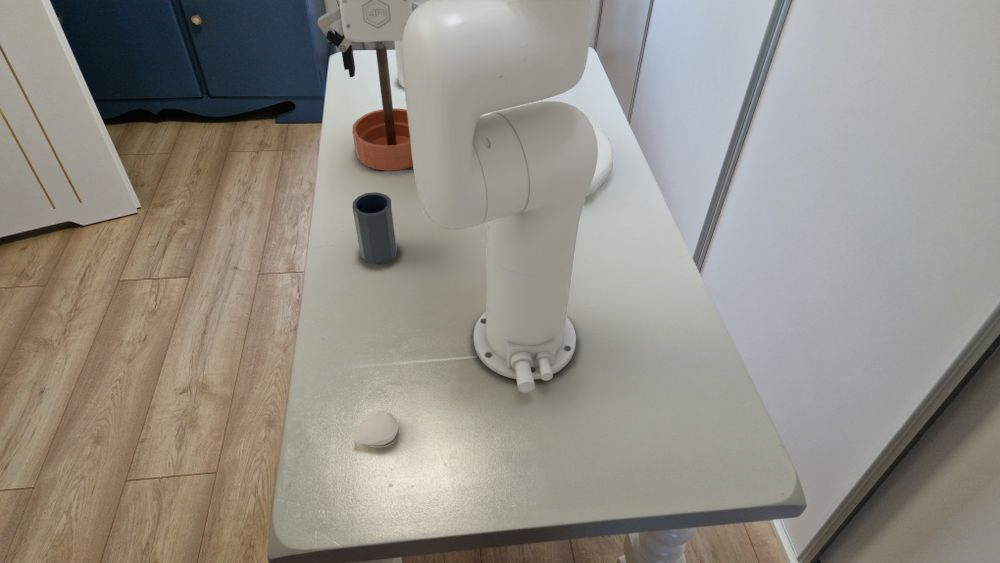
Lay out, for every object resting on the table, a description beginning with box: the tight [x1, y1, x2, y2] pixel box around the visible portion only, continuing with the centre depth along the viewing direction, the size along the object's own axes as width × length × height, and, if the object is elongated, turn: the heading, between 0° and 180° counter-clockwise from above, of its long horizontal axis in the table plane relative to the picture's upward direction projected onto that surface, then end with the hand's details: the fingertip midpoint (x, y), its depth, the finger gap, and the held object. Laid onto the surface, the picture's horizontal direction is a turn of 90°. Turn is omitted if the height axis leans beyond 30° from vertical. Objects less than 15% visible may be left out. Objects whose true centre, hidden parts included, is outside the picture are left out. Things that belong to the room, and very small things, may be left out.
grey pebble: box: [352, 409, 400, 448], centre depth 70 cm, size 4×5×2 cm
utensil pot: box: [351, 191, 398, 266], centre depth 89 cm, size 5×5×9 cm
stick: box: [375, 43, 397, 145], centre depth 105 cm, size 2×2×18 cm
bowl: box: [351, 107, 413, 172], centre depth 110 cm, size 12×12×5 cm
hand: (384, 72), depth 101 cm, fingers open, 9 cm apart
